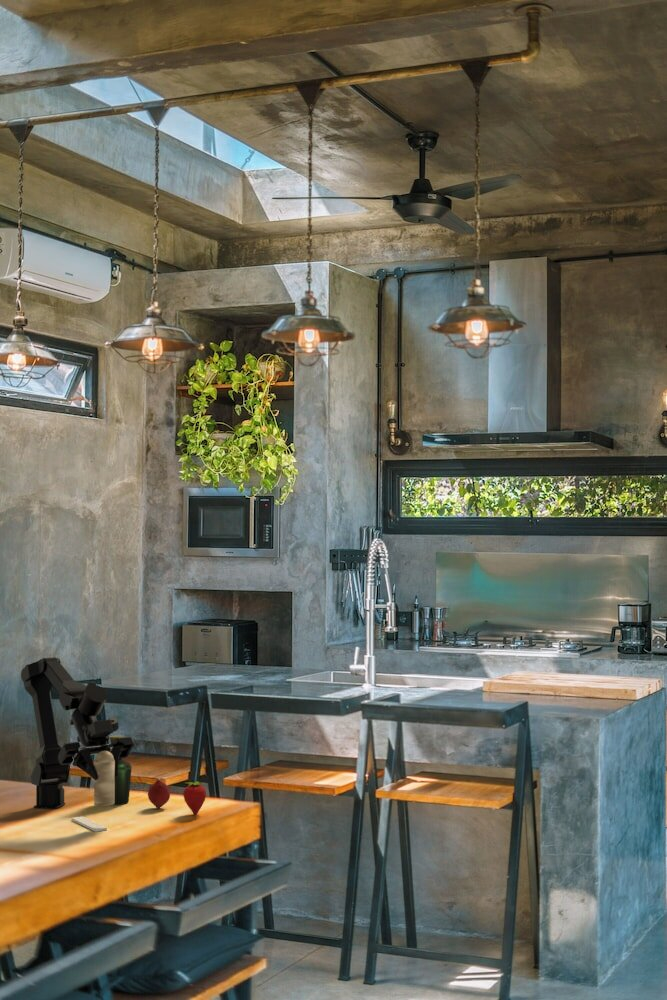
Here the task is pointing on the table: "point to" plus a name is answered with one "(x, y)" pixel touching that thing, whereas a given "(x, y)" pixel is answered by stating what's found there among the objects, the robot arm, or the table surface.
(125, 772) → the potion bottle
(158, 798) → the onion
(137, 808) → the table surface
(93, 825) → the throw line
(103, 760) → the skittle
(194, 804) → the strawberry
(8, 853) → the table surface
